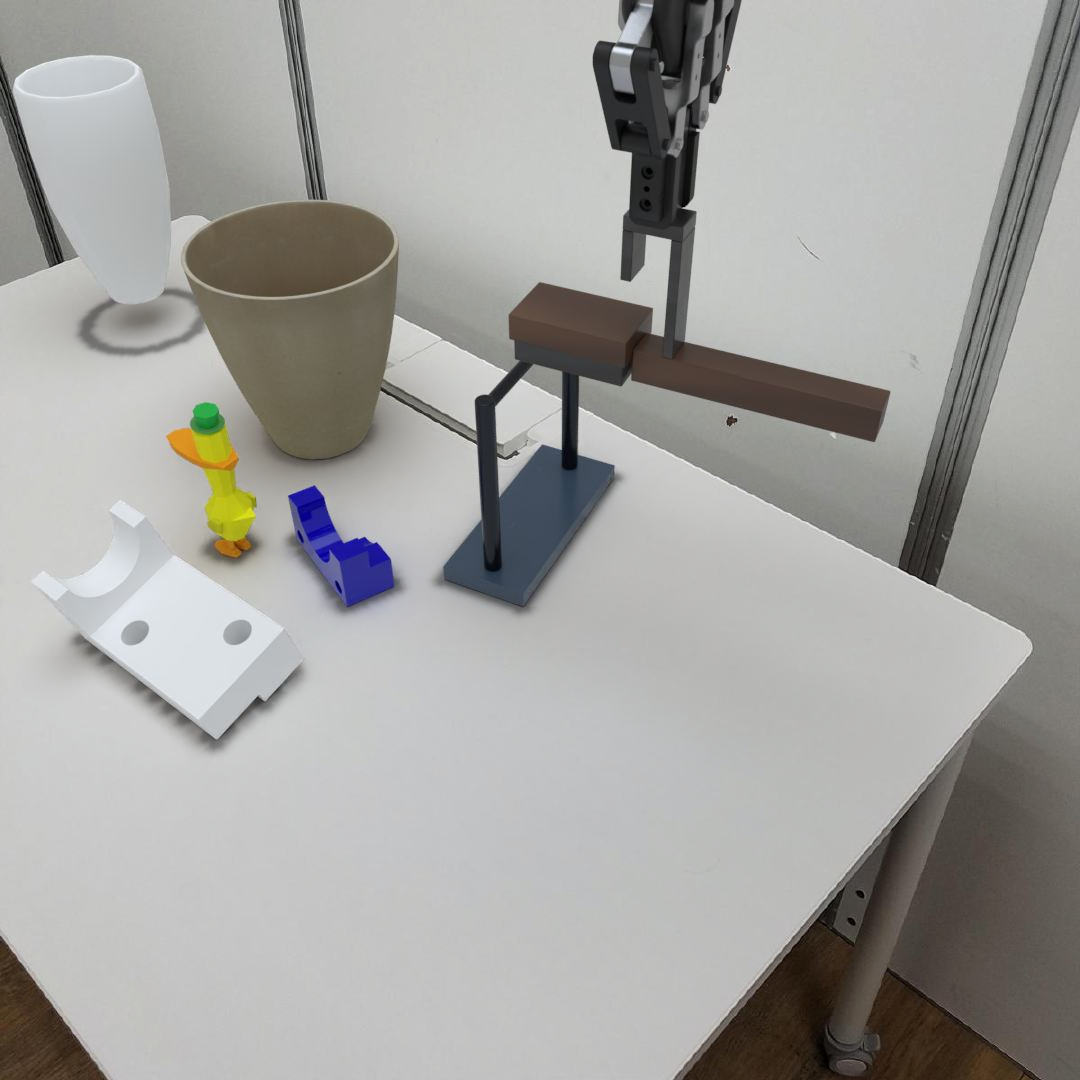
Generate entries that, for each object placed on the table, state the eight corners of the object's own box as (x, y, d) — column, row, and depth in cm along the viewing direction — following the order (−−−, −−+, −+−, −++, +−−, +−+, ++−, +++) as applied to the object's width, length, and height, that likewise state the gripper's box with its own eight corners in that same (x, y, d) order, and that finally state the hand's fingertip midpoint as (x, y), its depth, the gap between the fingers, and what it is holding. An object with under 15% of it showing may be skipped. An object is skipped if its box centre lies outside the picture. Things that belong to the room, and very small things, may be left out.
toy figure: (179, 542, 78) (136, 401, 70) (216, 515, 80) (178, 374, 72) (249, 578, 75) (213, 435, 67) (285, 548, 78) (255, 406, 70)
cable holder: (394, 586, 75) (388, 541, 72) (347, 606, 73) (339, 562, 71) (342, 521, 80) (334, 477, 77) (296, 539, 78) (287, 495, 76)
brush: (870, 453, 57) (936, 178, 47) (509, 360, 63) (501, 102, 54) (887, 412, 59) (953, 142, 50) (539, 326, 66) (537, 74, 56)
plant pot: (424, 479, 83) (405, 288, 72) (221, 500, 82) (171, 308, 71) (411, 370, 94) (392, 189, 83) (231, 386, 92) (189, 205, 82)
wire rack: (614, 477, 83) (622, 304, 73) (523, 607, 73) (518, 426, 63) (542, 456, 85) (540, 284, 75) (443, 579, 75) (427, 400, 65)
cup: (226, 300, 103) (172, 59, 89) (164, 359, 96) (95, 107, 81) (128, 284, 105) (61, 47, 91) (61, 340, 98) (-24, 92, 84)
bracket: (92, 646, 72) (30, 581, 66) (172, 568, 75) (119, 499, 69) (223, 746, 66) (167, 685, 60) (304, 658, 69) (259, 591, 63)
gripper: (725, -158, 38) (685, 292, 50) (828, -219, 48) (774, 172, 59) (528, -174, 41) (533, 258, 52) (663, -230, 50) (642, 148, 62)
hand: (661, 211), depth 56 cm, fingers closed on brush, 2 cm apart
